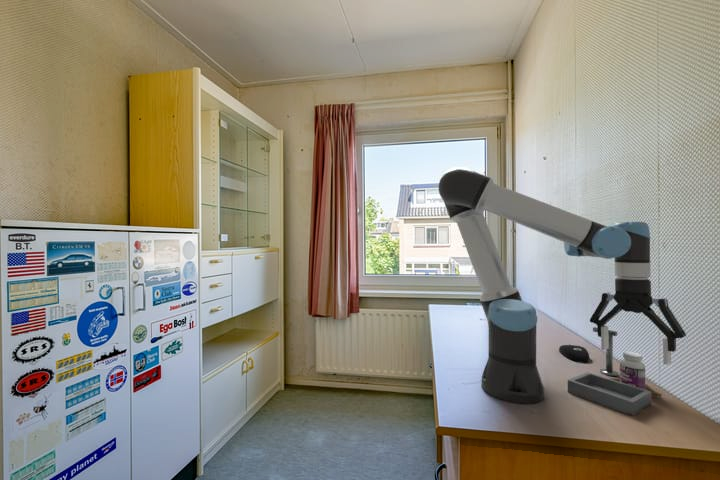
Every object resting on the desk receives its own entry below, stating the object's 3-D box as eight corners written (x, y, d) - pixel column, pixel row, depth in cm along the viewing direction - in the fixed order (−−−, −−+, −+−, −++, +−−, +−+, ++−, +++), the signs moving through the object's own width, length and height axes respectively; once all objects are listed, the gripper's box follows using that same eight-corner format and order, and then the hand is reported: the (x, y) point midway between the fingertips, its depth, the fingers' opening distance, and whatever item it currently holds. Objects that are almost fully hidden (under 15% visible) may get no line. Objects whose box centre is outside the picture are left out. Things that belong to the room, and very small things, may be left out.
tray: (632, 416, 74) (632, 402, 74) (567, 391, 86) (567, 380, 86) (651, 404, 79) (651, 391, 79) (587, 382, 91) (587, 372, 91)
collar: (661, 398, 83) (661, 394, 83) (622, 394, 85) (622, 390, 85) (641, 384, 91) (641, 380, 91) (606, 380, 93) (606, 377, 93)
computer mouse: (569, 362, 108) (569, 350, 108) (556, 351, 120) (556, 340, 120) (595, 364, 106) (595, 352, 106) (579, 353, 118) (579, 342, 118)
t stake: (614, 377, 95) (614, 333, 95) (590, 370, 101) (590, 328, 101) (621, 374, 97) (621, 331, 98) (597, 367, 103) (597, 326, 103)
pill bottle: (615, 386, 89) (615, 351, 89) (627, 383, 91) (627, 349, 91) (637, 394, 84) (637, 358, 84) (650, 391, 86) (650, 355, 86)
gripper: (701, 281, 79) (703, 367, 79) (588, 274, 101) (589, 341, 100) (691, 283, 76) (693, 373, 75) (575, 275, 97) (577, 345, 96)
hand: (634, 355), depth 88 cm, fingers open, 13 cm apart
